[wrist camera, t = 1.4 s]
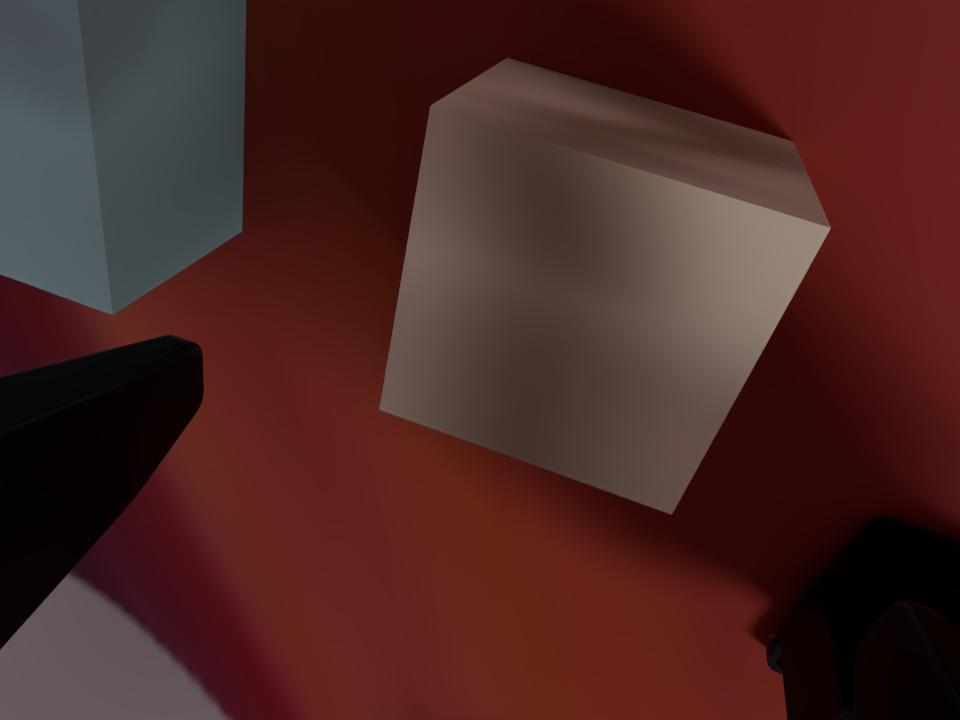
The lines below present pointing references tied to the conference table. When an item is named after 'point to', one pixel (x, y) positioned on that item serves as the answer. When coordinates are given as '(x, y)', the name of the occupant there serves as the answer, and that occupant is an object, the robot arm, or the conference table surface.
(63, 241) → the teal block
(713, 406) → the birch block
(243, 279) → the conference table surface
